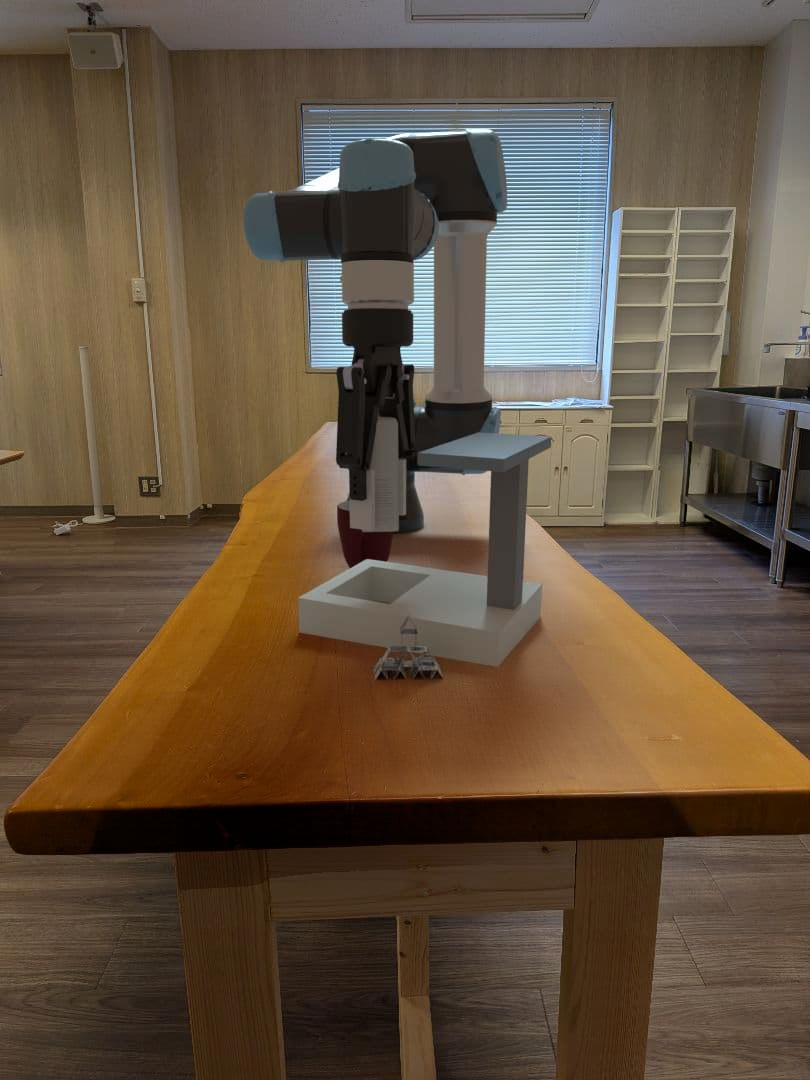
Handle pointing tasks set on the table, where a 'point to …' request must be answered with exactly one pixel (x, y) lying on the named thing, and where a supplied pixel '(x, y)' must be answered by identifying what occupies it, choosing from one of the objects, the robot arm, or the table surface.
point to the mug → (361, 540)
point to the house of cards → (399, 664)
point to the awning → (498, 501)
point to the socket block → (418, 611)
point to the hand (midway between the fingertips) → (379, 520)
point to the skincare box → (386, 475)
